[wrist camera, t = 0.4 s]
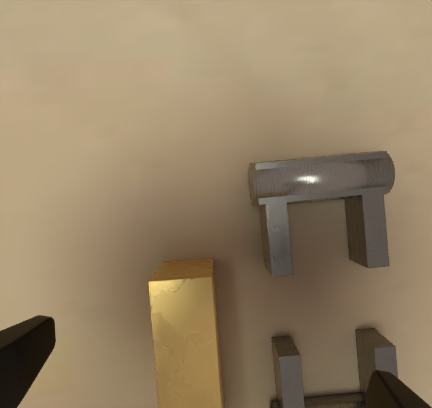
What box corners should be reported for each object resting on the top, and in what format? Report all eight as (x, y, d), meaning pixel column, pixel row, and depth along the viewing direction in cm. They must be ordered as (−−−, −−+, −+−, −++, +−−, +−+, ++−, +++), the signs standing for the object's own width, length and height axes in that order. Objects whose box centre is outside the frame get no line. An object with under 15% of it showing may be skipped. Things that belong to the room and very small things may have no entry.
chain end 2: (390, 426, 21) (417, 462, 18) (272, 437, 21) (280, 474, 18) (382, 327, 21) (408, 347, 18) (263, 338, 21) (270, 360, 18)
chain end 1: (247, 165, 21) (252, 160, 18) (368, 154, 21) (392, 147, 18) (256, 268, 21) (263, 279, 18) (377, 256, 21) (402, 266, 18)
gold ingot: (224, 410, 21) (226, 476, 16) (176, 413, 21) (164, 480, 16) (212, 257, 21) (211, 277, 16) (164, 261, 21) (148, 281, 16)
